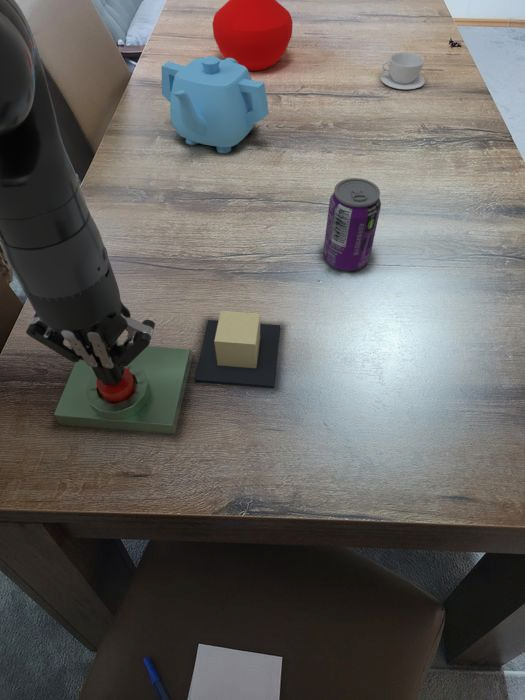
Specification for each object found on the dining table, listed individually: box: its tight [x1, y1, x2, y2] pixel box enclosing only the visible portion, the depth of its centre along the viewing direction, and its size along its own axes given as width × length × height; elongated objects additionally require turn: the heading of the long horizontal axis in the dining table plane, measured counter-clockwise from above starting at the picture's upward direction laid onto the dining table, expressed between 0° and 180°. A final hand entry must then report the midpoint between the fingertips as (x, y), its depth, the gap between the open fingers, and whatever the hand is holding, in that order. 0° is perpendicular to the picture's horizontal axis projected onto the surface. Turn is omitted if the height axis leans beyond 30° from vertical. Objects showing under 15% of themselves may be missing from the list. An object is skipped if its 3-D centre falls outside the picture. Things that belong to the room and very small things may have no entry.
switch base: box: [53, 343, 193, 435], centre depth 60 cm, size 14×11×4 cm
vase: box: [212, 0, 294, 72], centre depth 111 cm, size 18×18×19 cm
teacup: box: [380, 51, 426, 90], centre depth 110 cm, size 10×10×5 cm
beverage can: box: [322, 177, 382, 271], centre depth 71 cm, size 7×7×12 cm
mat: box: [194, 319, 281, 389], centre depth 64 cm, size 10×10×1 cm
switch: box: [96, 367, 135, 402], centre depth 56 cm, size 4×4×2 cm
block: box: [214, 310, 261, 368], centre depth 62 cm, size 5×5×5 cm
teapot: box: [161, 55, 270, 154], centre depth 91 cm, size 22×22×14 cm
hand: (113, 378), depth 55 cm, fingers closed
